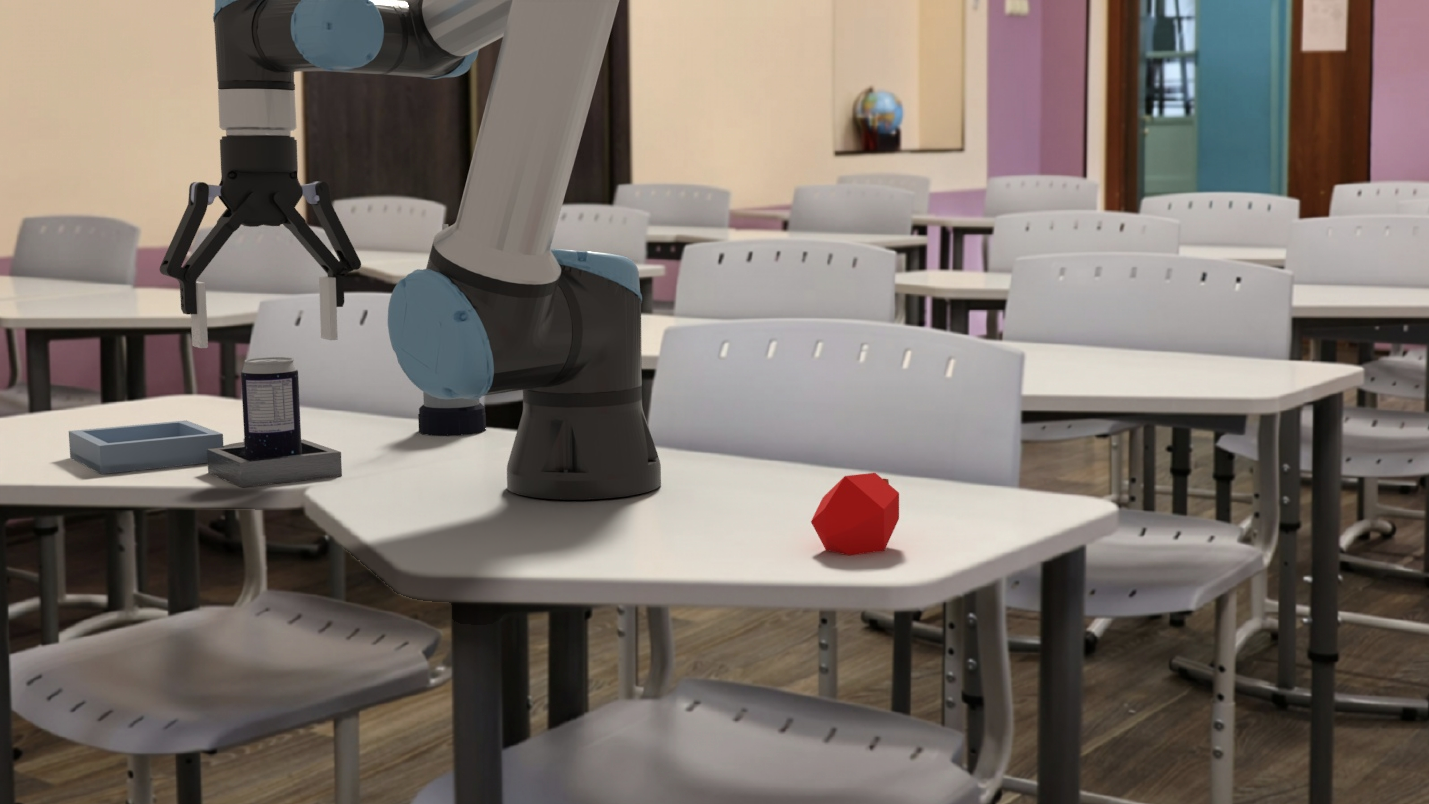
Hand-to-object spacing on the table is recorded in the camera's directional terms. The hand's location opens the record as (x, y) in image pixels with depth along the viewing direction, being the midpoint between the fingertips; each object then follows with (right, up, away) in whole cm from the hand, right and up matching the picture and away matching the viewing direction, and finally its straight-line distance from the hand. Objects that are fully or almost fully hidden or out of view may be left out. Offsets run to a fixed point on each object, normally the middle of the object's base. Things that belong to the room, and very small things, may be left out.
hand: (266, 343), depth 167 cm
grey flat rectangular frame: (-2, -13, +4) cm, 14 cm away
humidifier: (+14, -10, +31) cm, 35 cm away
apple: (+58, -18, -35) cm, 70 cm away
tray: (-16, -12, +12) cm, 24 cm away
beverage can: (0, -14, +2) cm, 14 cm away
